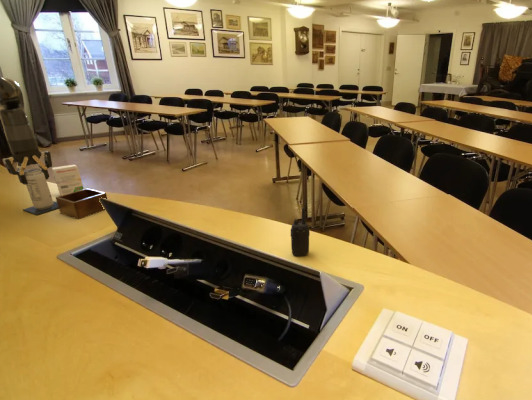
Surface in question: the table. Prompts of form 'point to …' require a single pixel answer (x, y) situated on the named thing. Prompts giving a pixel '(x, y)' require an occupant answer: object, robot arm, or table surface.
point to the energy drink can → (38, 189)
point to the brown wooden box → (80, 203)
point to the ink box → (67, 179)
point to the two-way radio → (300, 236)
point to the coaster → (38, 212)
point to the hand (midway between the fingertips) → (35, 181)
